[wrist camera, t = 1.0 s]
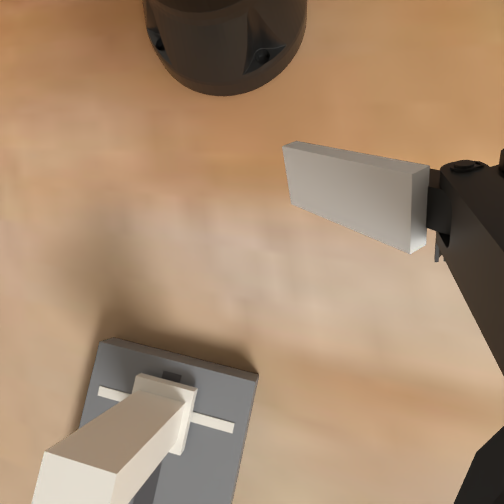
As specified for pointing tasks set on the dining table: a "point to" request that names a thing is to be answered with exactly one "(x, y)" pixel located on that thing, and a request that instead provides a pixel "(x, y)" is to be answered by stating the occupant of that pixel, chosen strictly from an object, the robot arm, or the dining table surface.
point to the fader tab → (118, 446)
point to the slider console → (201, 425)
